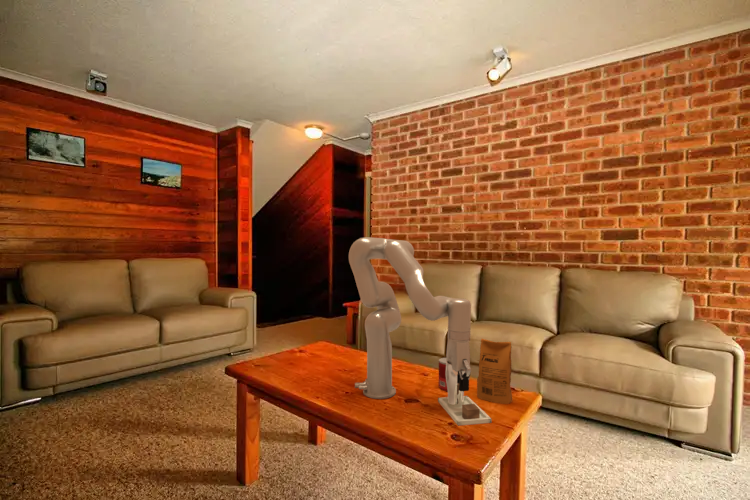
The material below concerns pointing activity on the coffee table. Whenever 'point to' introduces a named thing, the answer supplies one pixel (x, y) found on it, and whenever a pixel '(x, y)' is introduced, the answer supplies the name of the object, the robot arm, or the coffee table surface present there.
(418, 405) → the coffee table surface
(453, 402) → the beer glass
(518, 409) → the coffee table surface
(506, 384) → the coffee package
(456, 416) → the tray
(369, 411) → the coffee table surface
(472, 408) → the walnut block
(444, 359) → the canned food
